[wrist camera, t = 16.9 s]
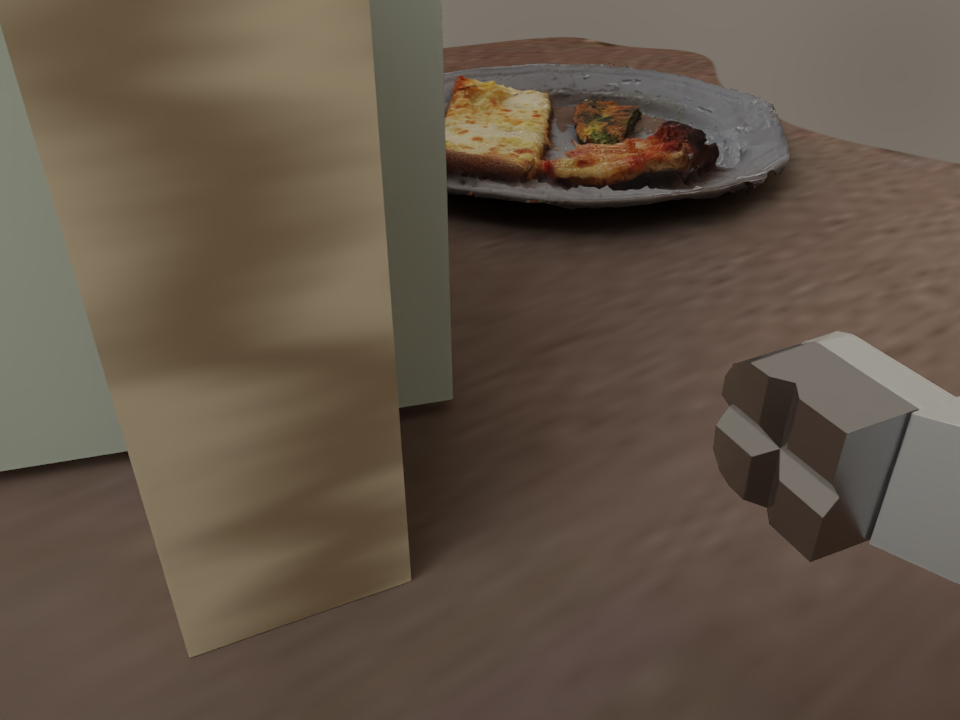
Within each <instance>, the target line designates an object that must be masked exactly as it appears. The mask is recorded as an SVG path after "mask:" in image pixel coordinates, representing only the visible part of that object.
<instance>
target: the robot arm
mask: <svg viewBox="0 0 960 720" xmlns="http://www.w3.org/2000/svg"><path fill="white" fill-rule="evenodd" d="M722 396H723V397H724V399H725V400H726V402H727V403H728V405H729V408H728V409H727V411H726V412H725V413H724V415H723V416H722V418H721V419H720V421H719V422H718V423H717V425H716V430H715V438H714V446H713V449H714V453H715V457H716V460H717V464H718V468H719V471H720V472H721V474H722V475H723V477H724V479H725V480H726V482H727V483H728V485H729V486H730V487H731V488H732V489H733V490H734V491H735V492H736V493H737V494H738V495H739V496H740V497H741V498H742V499H743V500H746V501H749V502H752V503H755V504H758V505H760V506H763V507H766V508H767V513H768V519H769V524H770V525H771V526H772V527H773V528H774V529H775V530H776V531H777V532H778V533H780V534H781V535H782V536H783V537H784V538H785V539H786V540H787V541H788V542H789V543H790V544H791V545H792V546H794V547H795V548H796V549H797V550H798V551H799V552H800V553H801V554H802V555H803V556H804V557H805V558H806V559H808V560H809V561H810V562H812V561H815V560H817V559H820V558H823V557H825V556H828V555H831V554H833V553H836V552H839V551H841V550H844V549H847V548H849V547H852V546H855V545H857V544H860V543H863V542H865V541H868V540H870V542H869V544H871V545H873V546H875V547H877V548H879V549H882V550H884V551H886V552H888V553H890V554H893V555H895V556H897V557H899V558H901V559H904V560H906V561H908V562H910V563H913V564H915V565H917V566H919V567H921V568H924V569H926V570H928V571H930V572H932V573H935V574H937V575H939V576H941V577H943V578H946V579H948V580H950V581H952V582H954V583H957V584H959V585H960V396H959V397H955V396H953V395H951V394H950V393H948V392H946V391H945V390H943V389H942V388H940V387H938V386H937V385H935V384H933V383H932V382H930V381H928V380H927V379H925V378H924V377H922V376H920V375H919V374H917V373H915V372H914V371H912V370H910V369H909V368H907V367H906V366H904V365H902V364H901V363H899V362H897V361H896V360H894V359H893V358H891V357H889V356H888V355H886V354H884V353H883V352H881V351H879V350H878V349H876V348H875V347H873V346H871V345H870V344H868V343H866V342H865V341H863V340H861V339H860V338H858V337H857V336H855V335H853V334H849V333H844V332H839V331H836V332H833V333H830V334H827V335H824V336H820V337H817V338H814V339H811V340H808V341H805V342H803V343H801V344H799V345H794V346H791V347H788V348H784V349H781V350H778V351H775V352H771V353H768V354H765V355H761V356H758V357H755V358H752V359H748V360H745V361H742V362H738V363H735V364H733V366H732V367H731V368H730V370H729V371H728V373H727V374H726V376H725V380H724V385H723V390H722Z"/></svg>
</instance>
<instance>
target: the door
mask: <svg viewBox="0 0 960 720" xmlns="http://www.w3.org/2000/svg"><path fill="white" fill-rule="evenodd" d="M369 4H370V18H371V31H372V45H373V59H374V73H375V87H376V100H377V114H378V128H379V142H380V155H381V169H382V183H383V197H384V211H385V224H386V238H387V252H388V266H389V279H390V293H391V307H392V321H393V334H394V348H395V362H396V376H397V390H398V403H399V408H401V407H407V406H414V405H420V404H426V403H433V402H439V401H445V400H451V399H453V380H452V346H451V312H450V278H449V244H448V210H447V176H446V142H445V108H444V74H443V40H442V8H441V7H442V6H441V0H369ZM125 451H127V448H126V444H125V441H124V438H123V434H122V431H121V428H120V424H119V421H118V418H117V414H116V411H115V408H114V404H113V401H112V398H111V394H110V391H109V387H108V384H107V381H106V377H105V374H104V371H103V367H102V364H101V361H100V357H99V354H98V351H97V347H96V344H95V341H94V337H93V334H92V330H91V327H90V324H89V320H88V317H87V314H86V310H85V307H84V304H83V300H82V297H81V294H80V290H79V287H78V284H77V280H76V277H75V273H74V270H73V267H72V263H71V260H70V257H69V253H68V250H67V247H66V243H65V240H64V237H63V233H62V230H61V227H60V223H59V220H58V216H57V213H56V210H55V206H54V203H53V200H52V196H51V193H50V190H49V186H48V183H47V180H46V176H45V173H44V170H43V166H42V163H41V160H40V156H39V153H38V149H37V146H36V143H35V139H34V136H33V133H32V129H31V126H30V123H29V119H28V116H27V113H26V109H25V106H24V103H23V99H22V96H21V92H20V89H19V86H18V82H17V79H16V76H15V72H14V69H13V66H12V62H11V59H10V56H9V52H8V49H7V46H6V42H5V39H4V35H3V32H2V29H1V25H0V471H6V470H12V469H18V468H25V467H31V466H37V465H43V464H50V463H56V462H62V461H69V460H75V459H81V458H87V457H94V456H100V455H106V454H113V453H119V452H125Z"/></svg>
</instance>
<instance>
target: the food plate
mask: <svg viewBox="0 0 960 720" xmlns="http://www.w3.org/2000/svg"><path fill="white" fill-rule="evenodd" d="M609 64H610V63H609ZM613 65H615V64H613ZM613 65H612V67H608V66H606V65H605V64H603V65H602V64H592V63H591V64H589V65H587V64H584V63H583V64H570V65H562V64H561V65H556V63H554V64H544V63H542V64H528V65H527V64H526V65H519V66H515V65H512V66H502V67H500V66H499V67H487V68H486V67H485V68H476V69H469V70H468V69H467V70H461V71H456V72H451V73H443V74H444V108H445V142H446V176H447V195H448V194H450V193H451V194H452V195H456V194H460V195H461V194H463V195H470V196H471V195H474V196H475V198H476V197H477V196H479V197H480V198H495V199H503V200H507V201H520V202H526V203H528V202H529V203H535V202H537V203H548V204H551V205H555V206H559V207H562V208H567V209H569V211H570V210H574V209H576V208H583V207H585V208H586V207H589V208H591V209H593V208H594V207H595V208H596V209H598V208H602V207H612V208H614V207H615V208H618V207H629V206H632V205H633V206H638V205H647V204H653V203H657V202H661V201H663V202H665V201H667V200H668V201H669V200H674V199H676V200H678V199H683V198H689V199H690V198H695V199H698V198H701V199H703V198H711V199H714V198H715V197H716V198H717V197H719V196H721V195H723V193H726V192H730V191H731V192H732V193H735V191H736V192H737V190H740V189H743V187H744V188H745V189H746V190H748V187H754V188H755V187H756V186H759V185H760V184H761V183H763V182H764V181H765V179H766V177H767V173H768V172H769V171H771V170H774V173H775V175H776V174H780V173H781V172H782V171H783V169H784V168H785V166H786V165H787V163H788V160H789V159H790V155H789V154H790V153H789V148H788V147H789V146H788V145H787V140H786V138H785V134H784V133H783V130H782V125H781V123H780V120H779V118H778V116H777V114H776V111H775V112H773V110H775V108H774V106H773V104H770V103H767V102H766V101H763V100H761V99H760V97H755V96H753V95H750V94H747V93H741V92H739V91H738V90H735V89H726V88H724V87H722V86H721V87H719V86H718V85H713V84H710V83H705V82H703V81H700V80H698V79H696V78H695V79H694V78H693V79H692V78H690V77H687V76H678V75H677V74H671V73H660V72H657V71H654V70H641V69H637V68H630V67H627V66H628V65H625V67H621V68H620V67H614V66H613ZM551 106H556V107H562V106H564V107H575V110H576V112H574V116H573V120H574V123H575V124H574V125H573V126H572V125H566V126H571V127H573V128H567V129H568V130H565V132H562V133H558V132H561V131H560V130H559V129H558V128H557V127H558V126H557V125H556V121H557V118H553V117H555V116H554V114H553V112H554V110H552V108H551ZM642 114H644V115H647V116H648V117H652V118H661V119H664V120H667V122H665V123H662V124H661V125H660V126H659V127H658V129H655V130H657V132H656V134H654V135H652V134H649V135H646V133H647V132H644V131H639V132H633V131H634V130H635V129H634V128H633V127H634V126H635V125H636V122H637V121H638V120H639V119H641V115H642ZM653 121H657V120H656V119H654V120H653ZM779 123H780V124H779ZM641 129H645V128H641ZM647 129H648V128H647ZM645 130H646V129H645ZM631 132H632V133H631ZM649 132H651V130H649ZM705 143H706V144H705ZM707 144H709V145H707ZM744 182H749V185H748V187H747V186H746V184H744ZM747 194H748V192H747V193H746V196H747Z"/></svg>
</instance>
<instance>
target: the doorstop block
mask: <svg viewBox="0 0 960 720" xmlns="http://www.w3.org/2000/svg"><path fill="white" fill-rule="evenodd" d="M0 25H1V29H2V32H3V35H4V39H5V42H6V46H7V49H8V52H9V56H10V59H11V62H12V66H13V69H14V72H15V76H16V79H17V82H18V86H19V89H20V92H21V96H22V99H23V103H24V106H25V109H26V113H27V116H28V119H29V123H30V126H31V129H32V133H33V136H34V139H35V143H36V146H37V149H38V153H39V156H40V160H41V163H42V166H43V170H44V173H45V176H46V180H47V183H48V186H49V190H50V193H51V196H52V200H53V203H54V206H55V210H56V213H57V216H58V220H59V223H60V227H61V230H62V233H63V237H64V240H65V243H66V247H67V250H68V253H69V257H70V260H71V263H72V267H73V270H74V273H75V277H76V280H77V284H78V287H79V290H80V294H81V297H82V300H83V304H84V307H85V310H86V314H87V317H88V320H89V324H90V327H91V330H92V334H93V337H94V341H95V344H96V347H97V351H98V354H99V357H100V361H101V364H102V367H103V371H104V374H105V377H106V381H107V384H108V387H109V391H110V394H111V398H112V401H113V404H114V408H115V411H116V414H117V418H118V421H119V424H120V428H121V431H122V434H123V438H124V441H125V444H126V448H127V451H128V454H129V458H130V461H131V465H132V468H133V471H134V475H135V478H136V481H137V485H138V488H139V491H140V495H141V498H142V501H143V505H144V508H145V511H146V515H147V518H148V522H149V525H150V528H151V532H152V535H153V538H154V542H155V545H156V548H157V552H158V555H159V558H160V562H161V565H162V568H163V572H164V575H165V579H166V582H167V585H168V589H169V592H170V595H171V599H172V602H173V605H174V609H175V612H176V615H177V619H178V622H179V625H180V629H181V632H182V635H183V639H184V642H185V646H186V649H187V652H188V656H189V658H191V657H194V656H197V655H200V654H203V653H206V652H208V651H211V650H214V649H217V648H220V647H223V646H226V645H229V644H231V643H234V642H237V641H240V640H243V639H246V638H249V637H252V636H254V635H257V634H260V633H263V632H266V631H269V630H272V629H275V628H277V627H280V626H283V625H286V624H289V623H292V622H295V621H298V620H300V619H303V618H306V617H309V616H312V615H315V614H318V613H321V612H323V611H326V610H329V609H332V608H335V607H338V606H341V605H344V604H346V603H349V602H352V601H355V600H358V599H361V598H364V597H367V596H369V595H372V594H375V593H378V592H381V591H384V590H387V589H390V588H392V587H395V586H398V585H401V584H404V583H407V582H410V581H411V569H410V555H409V541H408V527H407V514H406V500H405V486H404V472H403V458H402V445H401V431H400V417H399V403H398V390H397V376H396V362H395V348H394V334H393V321H392V307H391V293H390V279H389V266H388V252H387V238H386V224H385V211H384V197H383V183H382V169H381V155H380V142H379V128H378V114H377V100H376V87H375V73H374V59H373V45H372V31H371V18H370V4H369V0H0Z"/></svg>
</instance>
